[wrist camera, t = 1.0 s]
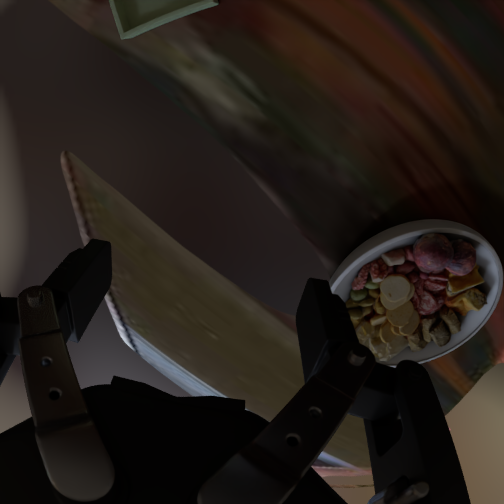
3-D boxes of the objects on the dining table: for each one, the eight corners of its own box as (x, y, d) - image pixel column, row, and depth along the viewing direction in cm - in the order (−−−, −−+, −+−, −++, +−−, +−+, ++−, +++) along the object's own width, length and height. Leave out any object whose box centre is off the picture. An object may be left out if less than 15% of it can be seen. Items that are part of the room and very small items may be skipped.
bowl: (467, 336, 52) (477, 367, 46) (324, 352, 59) (324, 387, 52) (508, 203, 35) (534, 234, 28) (313, 216, 41) (314, 252, 35)
